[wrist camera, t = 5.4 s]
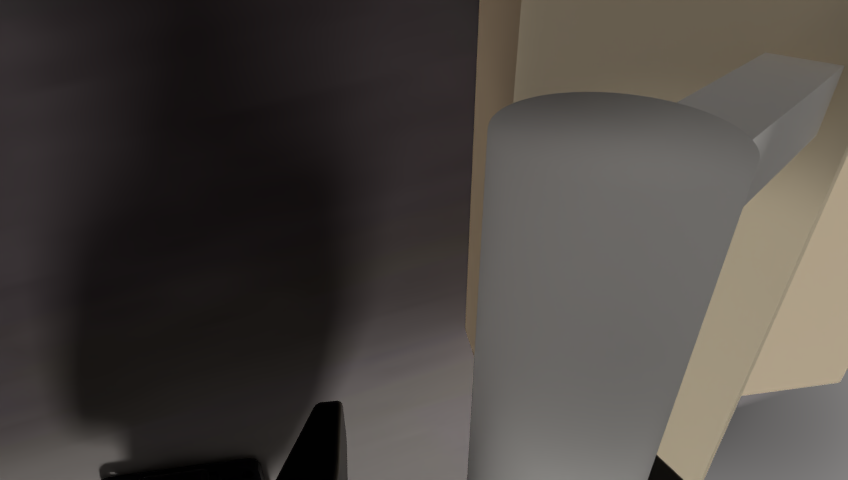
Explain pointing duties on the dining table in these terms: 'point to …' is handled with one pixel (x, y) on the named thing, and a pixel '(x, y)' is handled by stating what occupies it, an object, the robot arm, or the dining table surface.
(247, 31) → the dining table surface
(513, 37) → the carton
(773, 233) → the flap
